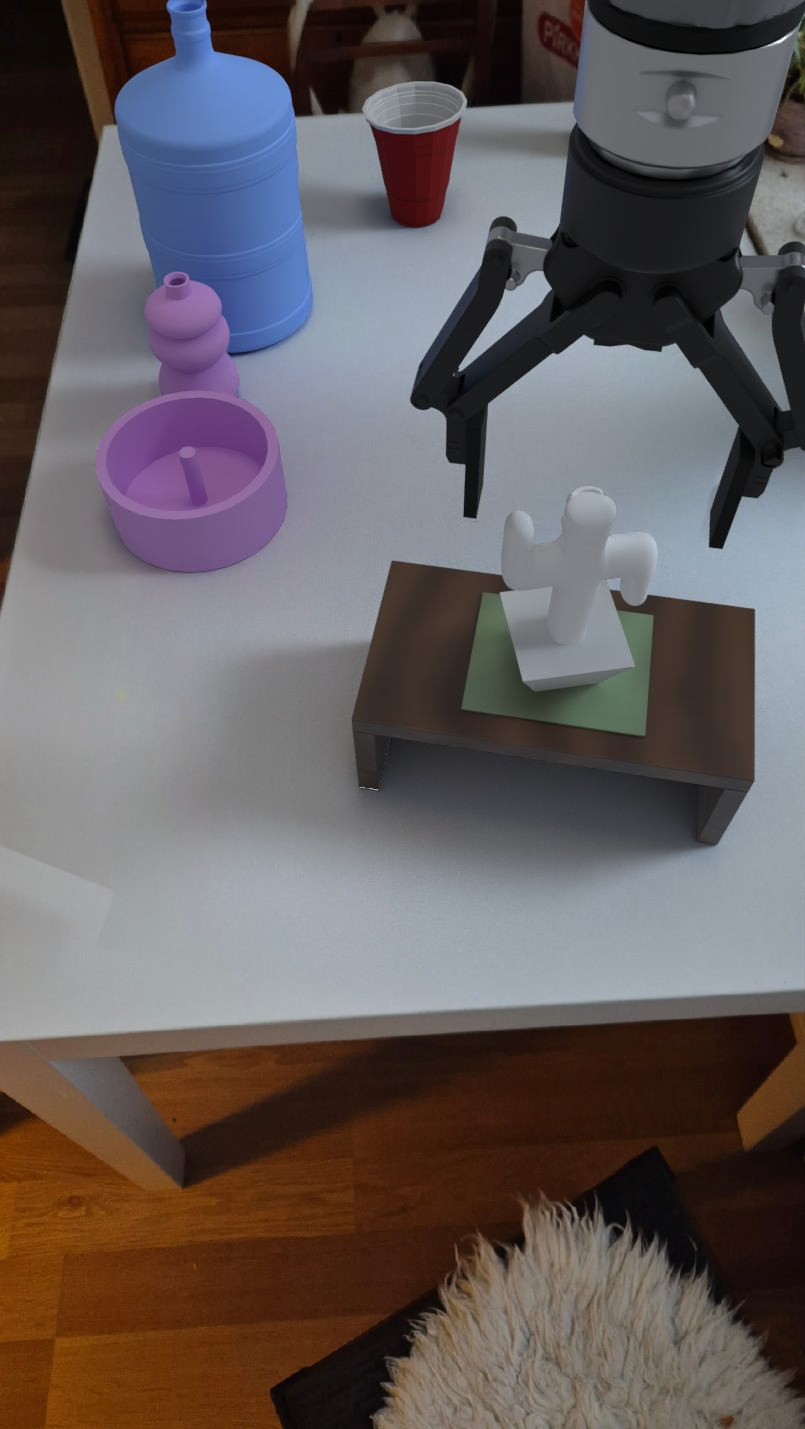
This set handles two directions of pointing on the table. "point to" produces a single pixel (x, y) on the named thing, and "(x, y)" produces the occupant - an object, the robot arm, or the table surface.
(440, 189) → the plastic cup
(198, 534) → the container set
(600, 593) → the figurine
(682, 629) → the shelf
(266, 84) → the water jug
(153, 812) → the table surface
